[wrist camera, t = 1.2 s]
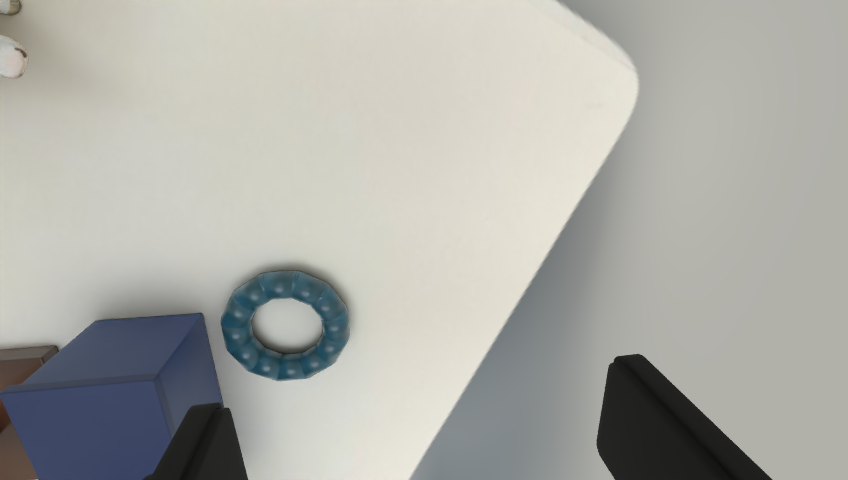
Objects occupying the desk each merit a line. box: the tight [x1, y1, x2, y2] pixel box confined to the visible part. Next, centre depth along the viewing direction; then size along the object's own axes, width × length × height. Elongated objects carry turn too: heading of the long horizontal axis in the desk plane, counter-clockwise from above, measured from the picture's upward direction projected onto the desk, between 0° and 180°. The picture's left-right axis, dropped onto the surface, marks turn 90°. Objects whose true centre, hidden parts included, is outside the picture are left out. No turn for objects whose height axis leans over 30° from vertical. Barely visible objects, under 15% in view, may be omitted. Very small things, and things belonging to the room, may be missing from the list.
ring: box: [221, 271, 350, 381], centre depth 25 cm, size 7×7×2 cm
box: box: [0, 313, 224, 480], centre depth 23 cm, size 12×6×6 cm, turn 0°
